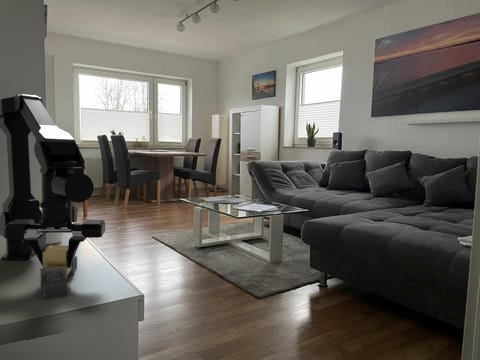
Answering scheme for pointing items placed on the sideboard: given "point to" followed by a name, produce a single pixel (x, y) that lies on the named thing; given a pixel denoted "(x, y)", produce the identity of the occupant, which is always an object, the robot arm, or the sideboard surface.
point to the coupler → (56, 257)
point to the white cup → (53, 236)
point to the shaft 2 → (73, 266)
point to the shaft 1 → (53, 282)
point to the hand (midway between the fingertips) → (57, 267)
